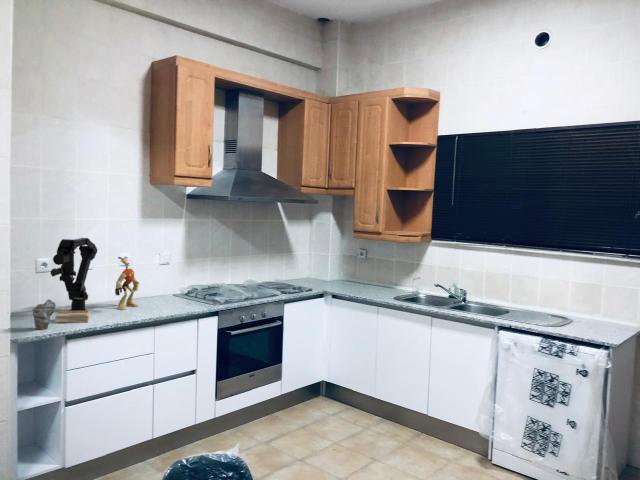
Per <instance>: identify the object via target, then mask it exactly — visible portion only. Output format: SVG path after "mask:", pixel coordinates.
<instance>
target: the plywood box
mask: <svg viewBox="0 0 640 480" xmlns="http://www.w3.org/2000/svg"><path fill="white" fill-rule="evenodd" d="M90 313H91V312H90V311H88V313H58V312H57V314H56V315H55V321H54V324H81V323H83V324H85V323H89V321H90V317H91V316H90Z"/></svg>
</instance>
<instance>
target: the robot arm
mask: <svg viewBox="0 0 640 480" xmlns="http://www.w3.org/2000/svg"><path fill="white" fill-rule="evenodd" d="M76 249H79V252H80V253H79V254H80V257H81V261H80V264H79V268H78V271H77V272H76V270H75V254H76V251H75V250H76ZM97 253H98V248H97V246H96V244H95V243H93V242H92V241H91V240H90V238H88V237H80V238H75V239H69V238H67V239H66V238H62V239H61V241H59V243H58V247H57V250H56V254H55V255H54V256H53V257H52V260H53V261H52V262H53V263H54V264H55V265H57V266H60V267H57V268H56V267H54V268H52V269H51V270H50V275H51V277H56V276H58V275H60V276H59V282H60V281H61V282H64V285H65V290H66V292H67V293H68V294H67V295H68V299H69V301H71V304H70V305H71V308H70V309H69V311H88V309H87V308H86V301H88V300H89V294H88V293H87V287H86V285H85V283H86V279H87V276H88V271H89V268H90V265H91V262H92V261H93V260H94V259H95V257H96V255H97ZM75 277H76V278H75ZM74 280H75V281H74Z"/></svg>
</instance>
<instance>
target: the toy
mask: <svg viewBox="0 0 640 480" xmlns="http://www.w3.org/2000/svg"><path fill="white" fill-rule="evenodd" d="M117 259H118V260H119V259H120V262H121V263H122V264H123V265H124V266H125V269H124V270H123V271H122V272H121V273H120V276H119V277H118V278H117V281H116V283H115V289H114V290H115V291H114V293H115V296H120V294H122V292H123V293H124V295H123V296H122V298H121V299H120V300H119V302H118V305H117V308H118V310H120V311H122V310H123V311H124V310H127V307H134V308H135V307H140V305H139V304H137V303H135V302H134V301H133V298H134V295H135V292H137V291H139V287H140V282H139V281H138V280H137V279H136V277H135V275H136V272H135V271H134V269H133V268H129V265H130V263H129V262H128V260H127V259H126V257H121V256H118V257H117ZM122 282H123V284H122ZM130 284H132V285H133V287H131V286H130ZM128 291H129V292H130V294H129V295H128ZM127 296H128V297H127ZM125 302H126V303H125Z"/></svg>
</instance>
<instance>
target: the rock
mask: <svg viewBox="0 0 640 480" xmlns="http://www.w3.org/2000/svg"><path fill="white" fill-rule="evenodd" d="M56 305H57V304H56V302H55V301H54V302H53V300H52V299H47V300H46V301H45V302H44V303H39V304H37V305H36V307H33V309H32V316H33V320H34V327H35V329H36V330H45V329H48V327H49V324H50V319H51V316H52V315H53V314H54V312H55V309H56Z"/></svg>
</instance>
